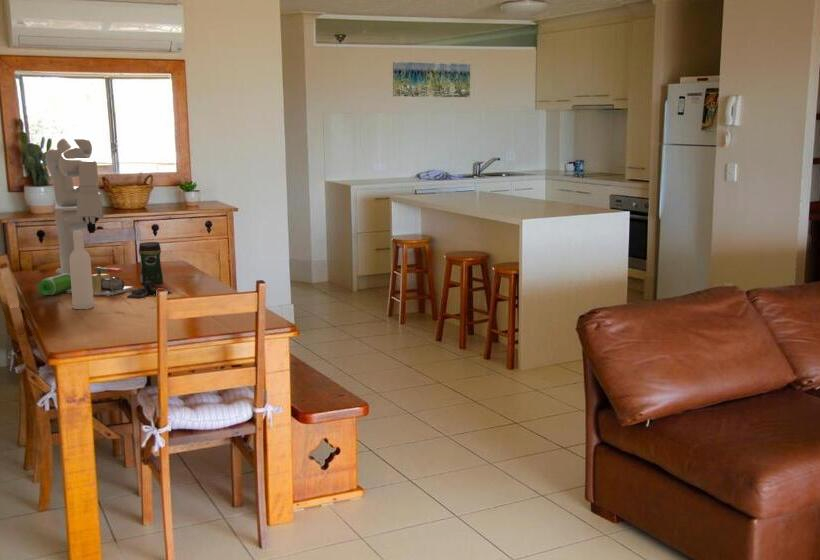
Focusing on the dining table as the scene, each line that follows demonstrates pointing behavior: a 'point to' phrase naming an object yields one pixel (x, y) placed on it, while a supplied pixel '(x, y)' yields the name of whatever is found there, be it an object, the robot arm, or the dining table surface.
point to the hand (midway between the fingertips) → (91, 232)
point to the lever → (114, 270)
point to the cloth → (145, 291)
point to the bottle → (81, 274)
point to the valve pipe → (106, 285)
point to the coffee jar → (150, 262)
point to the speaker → (55, 284)
